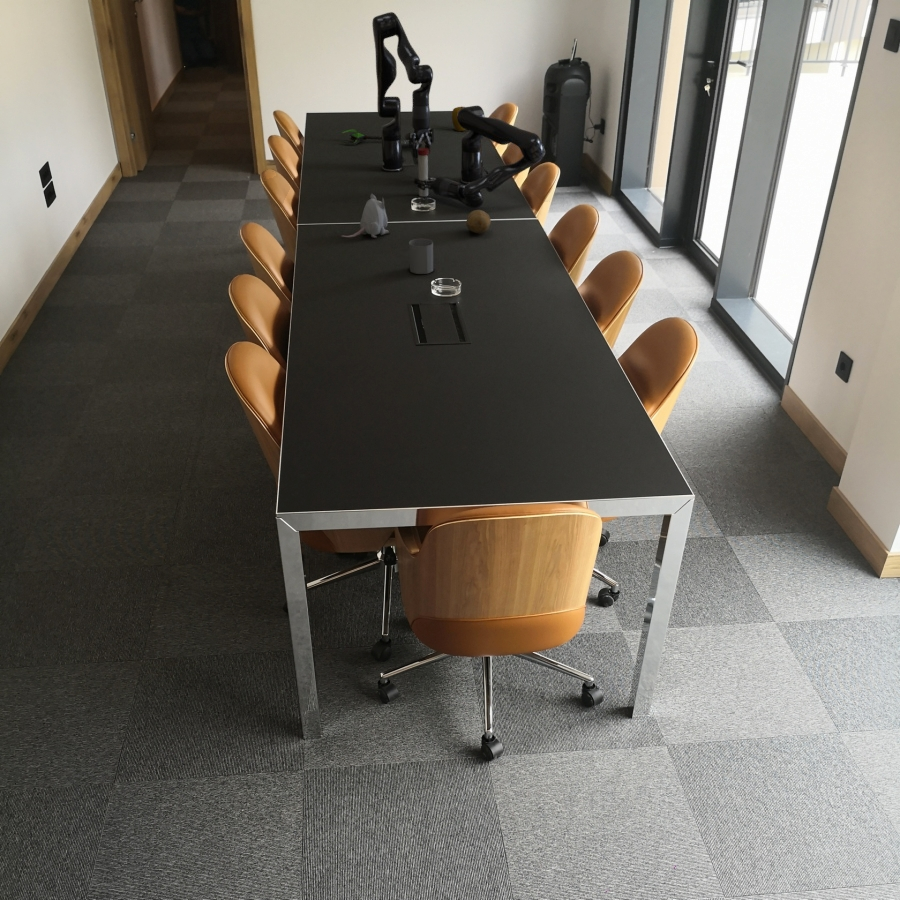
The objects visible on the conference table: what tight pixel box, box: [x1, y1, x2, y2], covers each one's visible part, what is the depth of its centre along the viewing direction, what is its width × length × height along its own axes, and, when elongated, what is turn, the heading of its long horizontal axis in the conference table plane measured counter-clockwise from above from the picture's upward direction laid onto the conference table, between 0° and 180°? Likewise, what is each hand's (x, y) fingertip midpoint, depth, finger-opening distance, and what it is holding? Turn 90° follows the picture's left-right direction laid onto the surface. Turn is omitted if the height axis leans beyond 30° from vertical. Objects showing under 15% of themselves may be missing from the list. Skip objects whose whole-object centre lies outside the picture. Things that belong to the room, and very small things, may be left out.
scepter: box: [340, 129, 382, 146], centre depth 465 cm, size 6×13×30 cm
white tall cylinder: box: [417, 155, 429, 197], centre depth 380 cm, size 4×4×19 cm
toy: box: [341, 193, 390, 239], centre depth 333 cm, size 9×24×15 cm, turn 137°
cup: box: [408, 237, 434, 275], centre depth 305 cm, size 8×8×10 cm
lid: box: [418, 147, 430, 156], centre depth 375 cm, size 5×5×2 cm
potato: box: [465, 209, 492, 234], centre depth 341 cm, size 10×14×8 cm
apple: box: [451, 105, 467, 132], centre depth 487 cm, size 11×11×13 cm
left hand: (421, 155), depth 376 cm, fingers open, 7 cm apart
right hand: (419, 179), depth 384 cm, fingers closed on white tall cylinder, 4 cm apart
